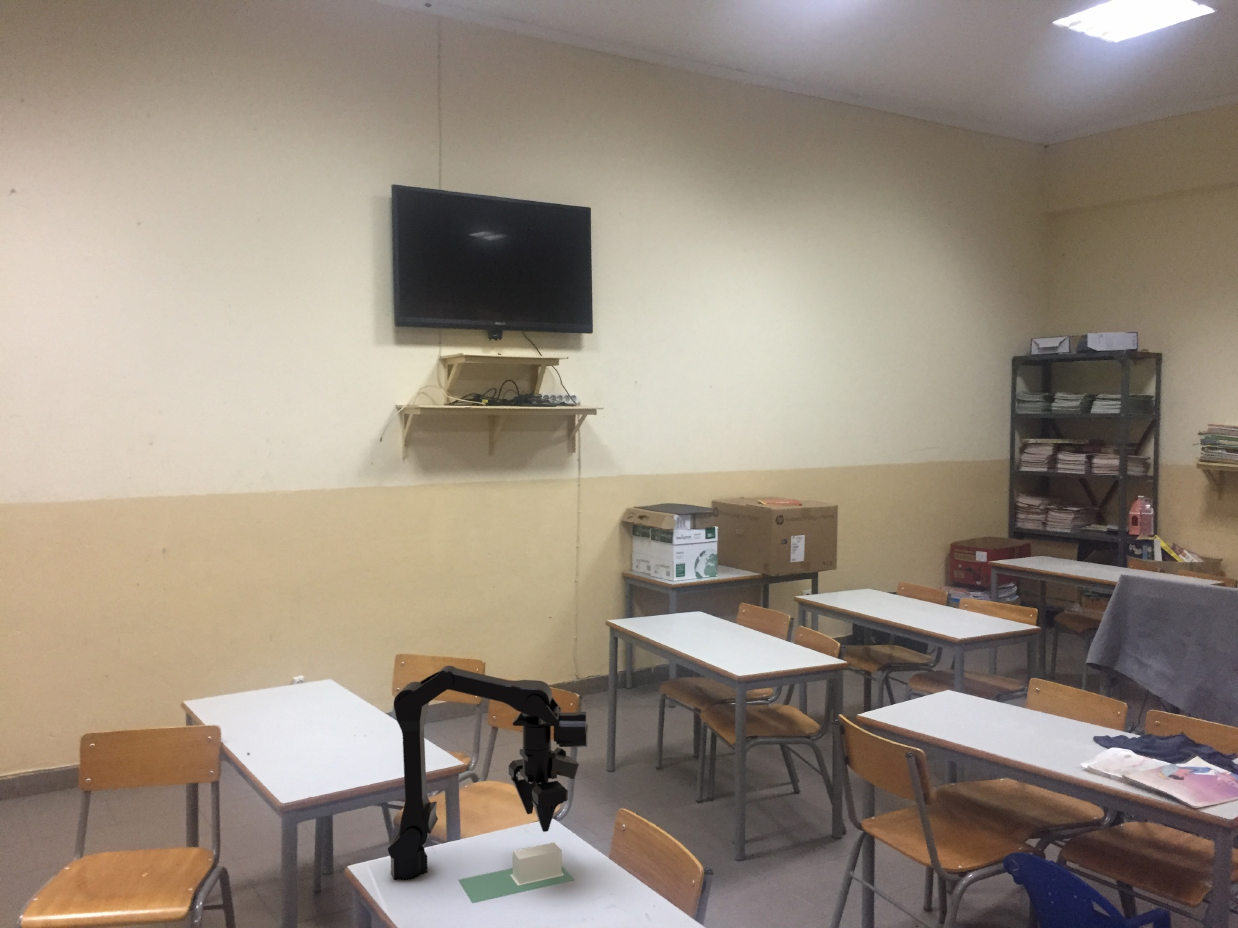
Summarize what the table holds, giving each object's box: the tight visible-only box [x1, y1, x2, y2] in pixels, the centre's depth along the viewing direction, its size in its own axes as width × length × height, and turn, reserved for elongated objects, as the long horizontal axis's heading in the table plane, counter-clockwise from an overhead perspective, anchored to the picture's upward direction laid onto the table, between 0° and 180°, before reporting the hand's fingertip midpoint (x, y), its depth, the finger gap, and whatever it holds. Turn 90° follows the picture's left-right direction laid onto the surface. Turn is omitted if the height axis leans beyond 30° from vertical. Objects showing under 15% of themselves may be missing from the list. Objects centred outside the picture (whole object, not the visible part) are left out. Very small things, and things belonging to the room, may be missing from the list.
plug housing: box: [512, 842, 562, 884], centre depth 187 cm, size 9×4×5 cm, turn 115°
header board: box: [457, 864, 575, 904], centre depth 185 cm, size 21×10×4 cm, turn 115°
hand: (537, 822), depth 186 cm, fingers open, 9 cm apart
